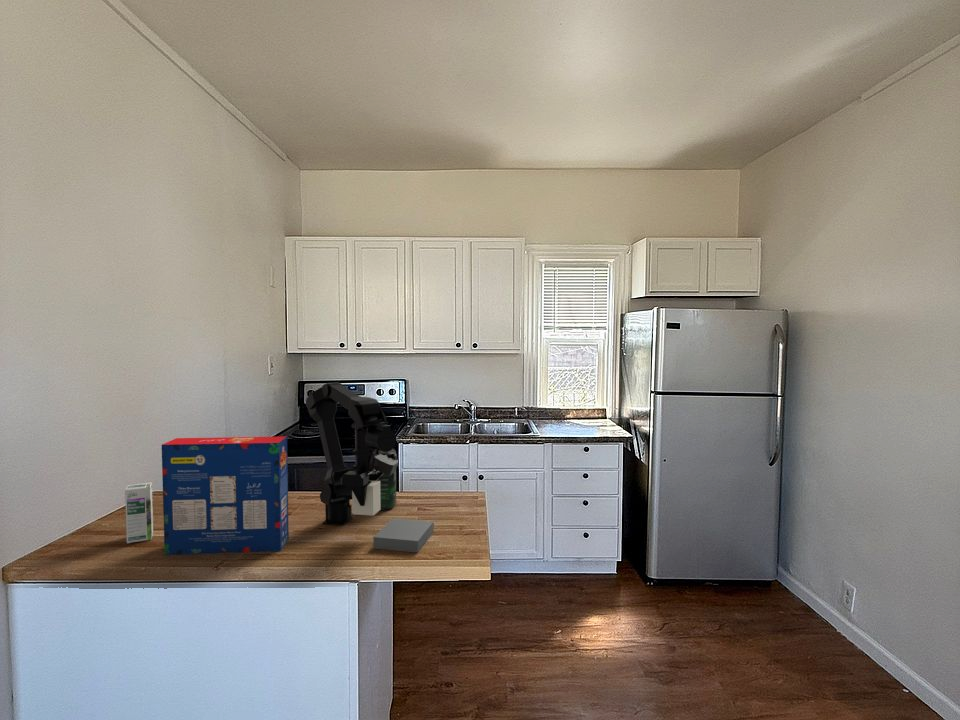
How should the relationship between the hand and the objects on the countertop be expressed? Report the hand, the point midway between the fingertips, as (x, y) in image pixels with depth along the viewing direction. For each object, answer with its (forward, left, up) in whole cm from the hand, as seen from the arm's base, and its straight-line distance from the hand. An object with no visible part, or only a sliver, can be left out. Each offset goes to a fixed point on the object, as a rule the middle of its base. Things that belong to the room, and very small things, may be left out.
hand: (366, 502), depth 143 cm
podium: (+11, 0, -10) cm, 14 cm away
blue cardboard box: (-32, -14, -10) cm, 36 cm away
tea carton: (0, 0, -3) cm, 3 cm away
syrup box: (-59, -14, -10) cm, 61 cm away
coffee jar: (-5, +25, -10) cm, 27 cm away
